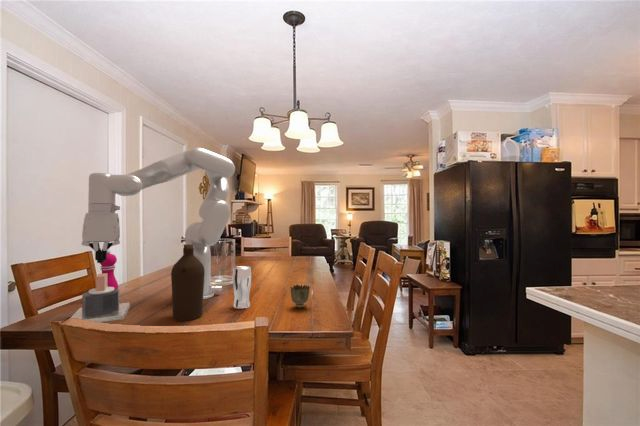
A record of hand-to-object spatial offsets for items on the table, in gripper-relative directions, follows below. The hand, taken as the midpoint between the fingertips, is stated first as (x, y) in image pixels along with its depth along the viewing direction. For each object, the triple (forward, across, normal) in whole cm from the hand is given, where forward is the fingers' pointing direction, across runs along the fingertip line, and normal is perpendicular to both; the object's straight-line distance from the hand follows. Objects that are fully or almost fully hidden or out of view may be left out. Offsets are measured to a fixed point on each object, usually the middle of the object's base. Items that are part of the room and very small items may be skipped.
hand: (100, 262), depth 103 cm
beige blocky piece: (+13, 0, 0) cm, 13 cm away
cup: (+18, -66, +20) cm, 72 cm away
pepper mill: (+19, +2, -23) cm, 30 cm away
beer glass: (+18, -46, +10) cm, 51 cm away
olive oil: (+19, -27, +13) cm, 35 cm away
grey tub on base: (+18, 0, 0) cm, 19 cm away
